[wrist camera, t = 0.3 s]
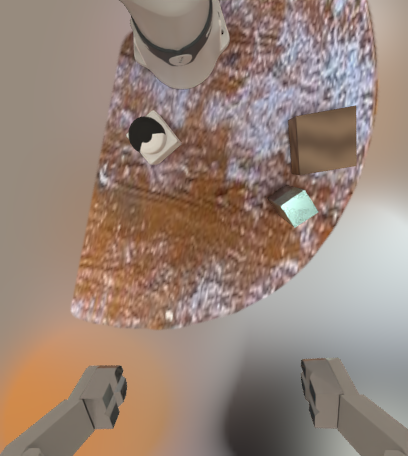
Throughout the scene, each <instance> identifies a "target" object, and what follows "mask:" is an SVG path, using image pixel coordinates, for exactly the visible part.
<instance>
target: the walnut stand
mask: <svg viewBox="0 0 408 456" xmlns="http://www.w3.org/2000/svg"><path fill="white" fill-rule="evenodd" d="M288 126H289V139H290V153H291V167H292V174H296V175H303V174H309V173H316V172H322V171H328V170H334V169H340V168H346V167H352V166H356V106H351V107H345V108H340V109H334V110H329V111H323V112H318V113H312V114H306V115H301V116H296V117H294V118H292V119H290V120H288Z"/></svg>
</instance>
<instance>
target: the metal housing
mask: <svg viewBox="0 0 408 456" xmlns="http://www.w3.org/2000/svg"><path fill="white" fill-rule="evenodd" d="M268 200H269V201H270V203H271V204H272V206H273V207H274V209H275V210H276V212H277V213H278V215H279V216H280V217H282V218H283V219H284V220H286V221H287V222H288V223H289V224H291V225H292V226H293V227H297V226H298V225H300V224H301V223H303V222H304V221H306V220H307V219H309V218H310V217H312V216H313V215H315V214H316V213H318V210H317V209H316V207H315V206H314V204H313V202H312V201H311V199H310V198H309V196H308V195H307V193H306V191H305V190H303V189H300V188H296V187H293V186H289V185H285V186H284V187H282V188H281V189H279V190H278V191H276V192H275V193H273V194H272V195H271V196H269V197H268Z"/></svg>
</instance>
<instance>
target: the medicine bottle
mask: <svg viewBox="0 0 408 456" xmlns="http://www.w3.org/2000/svg"><path fill="white" fill-rule="evenodd" d="M126 136H127V138H128V139H129V140H130V143H131V145H132V146H133V148H134V149H135V150H137V151H138V152H140V153H141V154H142V156H143V157H144V158H145V159H146V160H147V162H148V163H149V164H150V165H156V164H159V163H161V162H162V161H163V160H164V159H165V158H166V157H167V156H169V155H170V154H171V153H172V152H173V151H174V150H176V149H177V148H178V147H179V146H180V145H181V144H182V143H181V141H180V140H179V139H178V137H177V136H176V135H175V134H174V132H173V131H172V130H171V129H170V127H169V126H168V125H167V123H166V122H165V121H164V120H163V118H162V117H161V116H160V115H159V114H158V113H157V112H156V111H154V110H152V111H151V112H150V113H149V114H148V115H147V116H145V117H140V118H137V119H136V120H134V121H133V123H132V124H131V126H130V128H129V132H128V133H127V134H126Z"/></svg>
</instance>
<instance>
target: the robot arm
mask: <svg viewBox="0 0 408 456" xmlns="http://www.w3.org/2000/svg"><path fill="white" fill-rule="evenodd" d="M120 1H121V2H122V3H123V4H124V5H125V7H126V8H127V10H128V11H129V13H130V14H131V18H132V19H131V20H130V24H131V28H132V29H133V40H134V57H135V60H136V62H137V63H138V64H140V65H141V66H143V67H145V68H147V69H149V70H150V71H151V72H152V73H153V74H154V75H155V76H156V77H157V78H158V79H159V80H160V81H161V82H162V83H164V84H165V85H167V86H169V87H172V88H175V89H189V88H193V87H195V86H197V85H199V84H201V83H202V82H203V81H204V80H206V79H207V77H208V76H209V75H210V74H211V72H212V70H213V69H214V67H215V64H216V62H217V59H218V57H219V55H220V54H221V53H222V52H223V51H224V50H225V49H226V48H227V46H228V45H229V42H230V37H229V33H228V30H227V27H226V23H225V20H224V17H223V13H222V10H221V6H220V3H219V0H120ZM221 31H222V32H223V35H221ZM301 368H302V370H303V372H302V373H301V383H302V389H303V393H304V396H305V399H306V400H307V401H308V402H309V412H310V415H311V418H312V421H313V424H314V427H315V428H333V429H334V428H335V429H338V431H339V432H340V433H341V434H342V435H343V436H344V438H345V439H346V440H347V441H348V442H349V443H350V444H351V445H352V446H353V447H354V449H355V450H356V451H357V452H358V453H359V454H360V455H361V456H408V429H407V428H406V427H404V426H403V425H402V424H400V423H399V422H398V421H397V420H395V419H394V418H393V417H391V416H390V415H389V414H387V413H386V412H385V411H384V410H382V409H381V408H380V407H379V406H377V405H376V404H375V403H373V402H372V401H371V400H370V399H368V398H367V397H366V396H364V395H359V393H358V391H357V389H356V388H355V386H354V384H353V382H352V380H351V378H350V376H349V375H348V373H347V371H346V369H345V367H344V366H343V364H342V362H341V360H340V359H339V358H326V359H325V358H317V359H302V360H301ZM122 373H123V369H122V366H89V367H88V368H87V369H86V370H85V372H84V373H83V375H82V377H81V378H80V380H79V382H78V383H77V385H76V386H75V388H74V390H73V391H72V393H71V395H70V396H69V398H68V400H64V401H62V402H61V403H60V404H59V405H57V406H56V407H55V408H54V409H52V410H51V411H50V412H49V413H47V414H46V415H45V416H44V417H42V418H41V419H40V420H39V421H37V422H36V423H35V424H34V425H33V426H31V427H30V428H29V429H27V430H26V431H25V432H24V433H22V434H21V435H20V436H19V437H17V438H16V439H15V440H14V441H12V442H11V443H10V444H9V445H7V446H6V447H5V449H4V450H3V452H2V453H1V454H0V456H73V455H74V454H75V452H76V451H77V450H78V449H79V448H80V447H81V445H82V444H83V443H84V442H85V441H86V440H87V438H88V437H89V436H90V435H91V434H92V433H93V432H94V429H113V428H114V425H115V422H116V420H117V418H118V415H119V408H118V407H119V406H120V405H121V404H122V403H123V402H124V399H125V396H126V390H127V382H126V378H124V377H123V376H122Z"/></svg>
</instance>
